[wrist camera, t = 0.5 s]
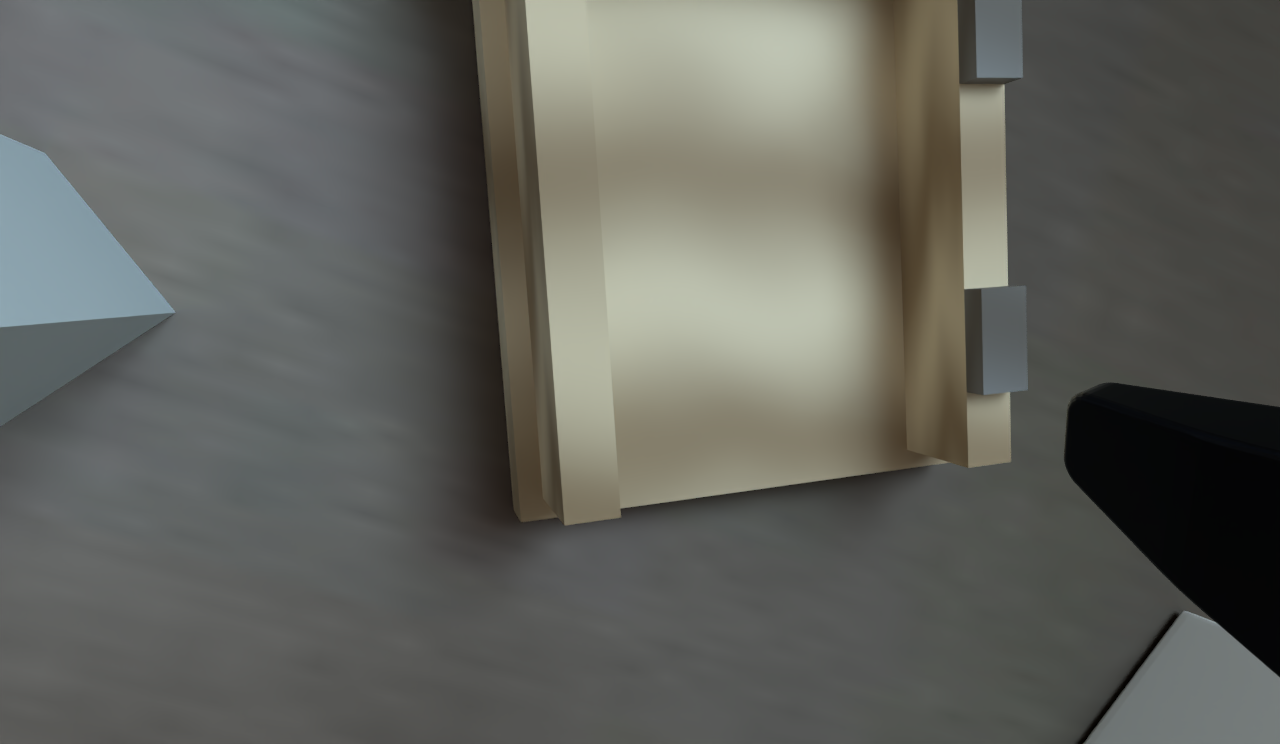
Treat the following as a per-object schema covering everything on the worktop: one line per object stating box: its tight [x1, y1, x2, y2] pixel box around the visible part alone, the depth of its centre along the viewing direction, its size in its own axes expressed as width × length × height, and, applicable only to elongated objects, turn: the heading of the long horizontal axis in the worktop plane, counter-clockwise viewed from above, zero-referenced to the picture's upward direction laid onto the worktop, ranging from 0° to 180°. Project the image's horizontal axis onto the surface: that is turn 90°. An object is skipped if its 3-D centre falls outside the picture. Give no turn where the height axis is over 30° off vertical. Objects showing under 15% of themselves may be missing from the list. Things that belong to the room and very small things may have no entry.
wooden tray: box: [472, 0, 1028, 525], centre depth 20 cm, size 14×12×4 cm
